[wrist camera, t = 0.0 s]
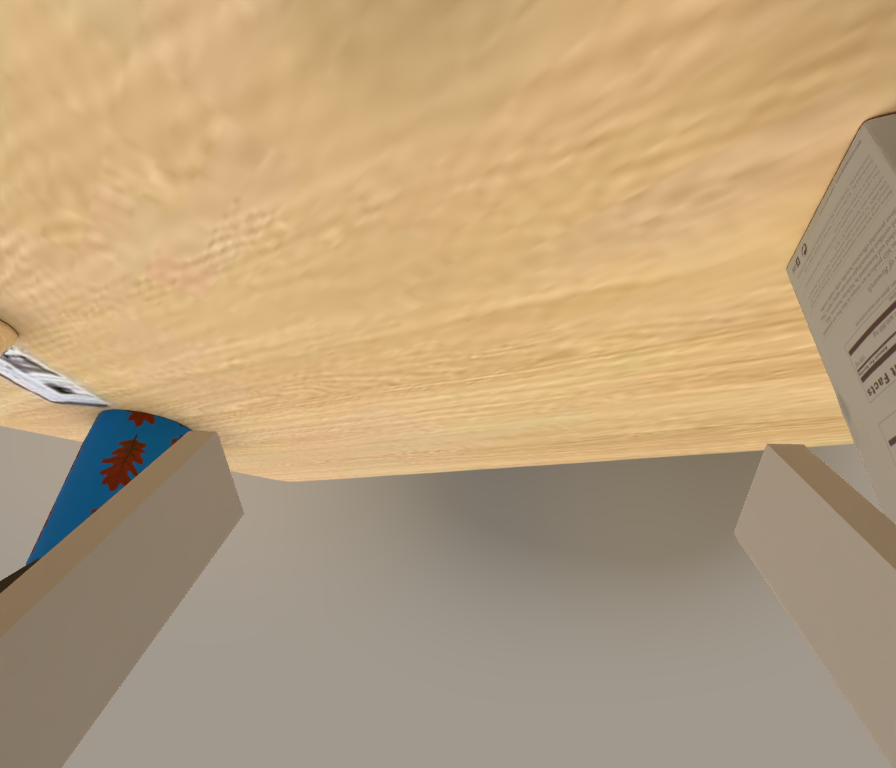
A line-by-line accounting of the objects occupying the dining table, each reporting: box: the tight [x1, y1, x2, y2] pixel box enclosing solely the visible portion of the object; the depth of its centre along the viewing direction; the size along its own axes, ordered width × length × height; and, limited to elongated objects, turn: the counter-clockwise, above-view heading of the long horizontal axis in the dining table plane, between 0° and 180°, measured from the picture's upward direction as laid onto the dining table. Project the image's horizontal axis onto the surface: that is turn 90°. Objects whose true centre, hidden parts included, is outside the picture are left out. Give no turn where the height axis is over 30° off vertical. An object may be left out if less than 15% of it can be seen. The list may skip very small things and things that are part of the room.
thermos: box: [26, 410, 191, 565], centre depth 49 cm, size 11×11×25 cm
